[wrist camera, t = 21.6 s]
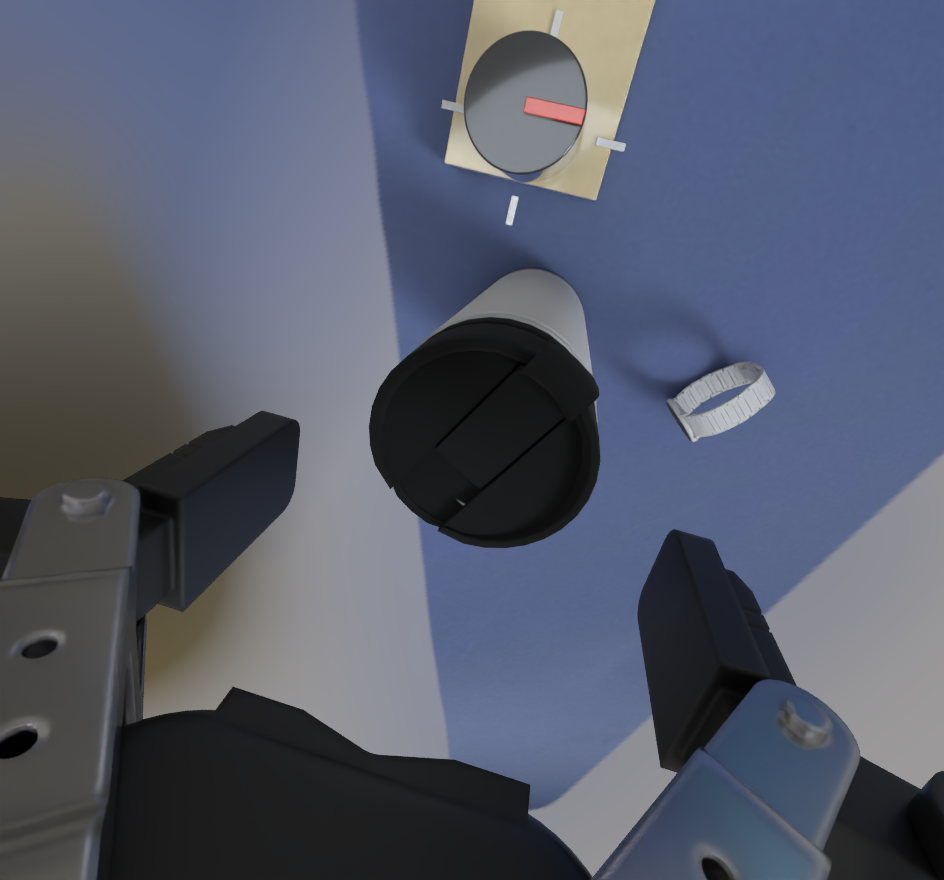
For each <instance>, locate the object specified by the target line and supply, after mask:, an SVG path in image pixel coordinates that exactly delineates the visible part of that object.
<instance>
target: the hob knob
mask: <svg viewBox="0 0 944 880" xmlns="http://www.w3.org/2000/svg"><path fill="white" fill-rule="evenodd" d="M587 103H588V90H587V84H586V79H585V75H584V72H583V69H582V67H581V64H580V62H579V61H578V59H577V57H576V55H575V54H574V53H573V52H572V50H571V49H570V48H569V47H568V46H567V45H566V44H565V43H564V42H562V41H561V40H560V39H558V38H557V37H555V36H553V35H550V34H548V33H545V32H541V31H535V30H524V31H519V32H514V33H512V34H509V35H506V36H504V37H503V38H501V39H499V40H498V41H496V42H495V43H493V44H492V45H491V46H490V47H489V48H488V49H487V50H486V51H485V52H484V53H483V54H482V55H481V57H480V58H479V59H478V61H477V62H476V64H475V66H474V68H473V70H472V72H471V74H470V76H469V79H468V82H467V85H466V90H465V95H464V120H465V125H466V129H467V132H468V135H469V138H470V140H471V142H472V144H473V146H474V147H475V149H476V150H477V152H478V153H479V154H480V156H481V157H482V158H483V159H484V160H485V161H486V162H488V163H489V164H490V165H491V166H493V167H494V168H496V169H497V170H498V171H500V172H501V173H503V174H504V175H506V176H507V177H509V178H511V179H513V180H516V181H520V182H526V183H533V182H540V181H543V180H546V179H549V178H551V177H553V176H554V175H556V174H558V173H559V172H560V171H561V170H563V169H564V168H565V167H566V166H567V165H568V164H569V162H570V161H571V160H572V159H573V157H574V155H575V154H576V152H577V150H578V148H579V146H580V143H581V140H582V137H583V132H584V126H585V120H586V113H587Z"/></svg>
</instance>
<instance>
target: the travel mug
mask: <svg viewBox="0 0 944 880" xmlns="http://www.w3.org/2000/svg"><path fill="white" fill-rule="evenodd" d="M598 396H599V389H598V386H597V384H596V382H595V380H594V378H593V374H592V367H591V360H590V353H589V346H588V338H587V331H586V324H585V317H584V311H583V307H582V304H581V301H580V299H579V297H578V295H577V293H576V292H575V290H574V289H573V288H572V286H571V285H570V284H569V283H568V282H567V281H565V280H564V279H563V278H562V277H560V276H558V275H556V274H554V273H553V272H550V271H546V270H543V269H535V268H528V269H520V270H517V271H514V272H511V273H509V274H507V275H505V276H504V277H502V278H500V279H499V280H498V281H497V282H495V283H494V284H493V285H492V286H490V287H489V288H488V289H487V290H485V291H484V292H483V293H482V294H480V295H479V296H478V297H477V298H475V299H474V300H473V301H472V302H470V303H469V304H468V305H467V306H465V307H464V308H463V309H462V310H461V311H459V312H458V313H457V314H456V315H454V316H453V317H452V318H451V319H449V320H448V321H447V322H446V323H444V324H443V325H442V326H441V327H439V328H438V329H437V330H436V331H434V332H433V333H432V334H431V335H430V336H429V337H428V338H426V339H425V340H424V341H423V342H422V343H421V344H420V345H419V346H418V347H417V348H416V349H415V350H414V351H413V352H412V353H411V354H410V355H408V356H407V357H406V358H405V359H404V360H403V361H402V362H400V363H399V364H398V365H397V366H396V367H395V368H394V369H393V370H392V371H391V372H390V373H389V375H388V376H387V378H386V379H385V381H384V382H383V383H382V385H381V386H380V388H379V390H378V393H377V395H376V398H375V400H374V403H373V405H372V410H371V417H370V424H369V433H370V446H371V451H372V455H373V458H374V462H375V465H376V467H377V468H378V470H379V472H380V473H381V475H382V476H383V478H384V479H385V481H386V483H387V484H388V486H389V488H390V489H391V488H392V487H394V490H395V492H396V494H397V496H398V497H399V499H401V501H402V502H403V503H404V504H405V505H406V506H407V507H408V508H409V509H410V510H411V511H412V512H414V513H415V514H416V515H417V516H419V517H420V518H422V519H423V520H424V521H426V522H427V523H429V524H432V525H435V526H438V527H439V529H438V531H439V532H441V533H443V534H445V535H447V536H449V537H451V538H453V539H455V540H457V541H460V542H462V543H464V544H469V545H474V546H479V547H485V548H509V547H516V546H523V545H527V544H530V543H533V542H536V541H540V540H543V539H545V538H547V537H549V536H550V535H552V534H554V533H556V532H558V531H559V530H561V529H562V528H564V527H565V526H566V525H567V524H568V523H569V522H570V521H572V520H573V519H574V518H575V517H576V516H577V515H578V514H579V512H580V511H581V510H582V508H583V507H584V505H585V504H586V503H587V501H588V500H589V498H590V495H591V493H592V491H593V489H594V486H595V484H596V482H597V476H598V471H599V465H600V446H599V435H598V427H597V406H596V399H597V398H598Z"/></svg>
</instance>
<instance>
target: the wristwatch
mask: <svg viewBox="0 0 944 880" xmlns="http://www.w3.org/2000/svg"><path fill="white" fill-rule="evenodd" d="M700 379H701V381H700ZM700 379H698V380H696V381H694V382H693V383H691V384H690V386H687V387H686V388H684V389H683V390H682V391H681V392H680V393H679V394H678V395H677V396H676V397H675V398H673V399H668V400H667V402H666V403H667V406H668V408H669V409H670V411H671V413H672V415H673V416H674V418H675V419H676V421H677V423H678V424H679V426H680V427H681V429H682V430H683V432H684V433H685V435H686V436H687V437H688V439H689V440H690V441H693V442H696V441H698V438H700V437H702V436H703V437H706V436H712V435H716V434H718V433H721V432H724V431H725V429H726V430H728V429H730V428H732V427H734V426H737V425H738V424H740V423H742V422H744V421H745V420H747V419H749V417H751V416H753V415H754V414H755V413H756V412H758V411H759V409H761V408H763V407H764V406H765V405H766V404H767V403H768V402H769V401H770V400H771V399H772V398H773V397H774V394H775V389H774V387H773V386H772V384H771V382H770V380H769V378H768V377H767V375H766V373H765V371H764V369H763V368H762V366H760V365H759V364H757V363H753V362H751V361H746V362H739V363H736V364H732V365H729V366H727V367H724V368H723V369H722V368H721V369H719V370H716V371H714V372H712V375H711V373H710V374H707V375H705V376H703V377H702V378H700ZM710 380H711V381H710ZM719 380H720V381H719ZM705 381H706V382H705ZM706 383H707V384H706ZM750 383H751V384H750ZM744 384H750V385H748V386H747V387H746V388H745V389H744V390H742V391H741V392H740V393H739V394H737V396H734V397H733V398H731V399H730V400H728V401H726V403H723V404H721V405H719V406H717V407H715V408H714V409H710V410H708V411H705V412H703V413H702V414H701V413H698V414H693V415H689V414H690V413H691V412H692V411H693V410H694V409H695V408H696V407H698V406H699V405H700V403H703V402H705V401H706V400H708V399H710V397H714V396H716V395H718V394H720V393H721V391H722V392H725V391H727V390H730V389H732V388H735V387H738V386H742V385H744ZM708 386H709V387H708ZM732 386H733V387H732ZM700 387H701V388H700ZM714 387H715V388H714ZM723 387H724V388H723ZM709 388H710V389H709ZM710 390H711V391H710ZM704 394H705V395H704ZM699 402H700V403H699ZM714 410H715V411H714ZM720 412H721V413H720ZM724 419H725V420H724Z"/></svg>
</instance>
